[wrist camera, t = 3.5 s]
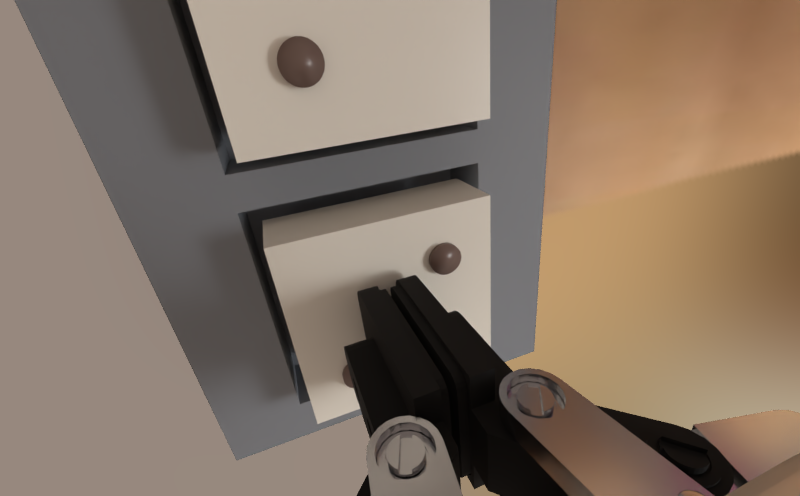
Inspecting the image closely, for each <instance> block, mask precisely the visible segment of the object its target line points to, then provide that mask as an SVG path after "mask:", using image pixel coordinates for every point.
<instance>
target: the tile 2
mask: <svg viewBox="0 0 800 496" xmlns="http://www.w3.org/2000/svg"><path fill="white" fill-rule="evenodd" d="M187 2H188V6H189V9H190V12H191V15H192V18H193V22H194V25H195V28H196V31H197V35H198V38H199V41H200V44H201V48H202V51H203V54H204V57H205V61H206V64H207V67H208V70H209V74H210V77H211V80H212V83H213V87H214V90H215V93H216V96H217V100H218V103H219V106H220V109H221V112H222V116H223V119H224V122H225V125H226V129H227V132H228V135H229V138H230V142H231V145H232V148H233V151H234V155H235V158H236V161H237V163H242V162H248V161H253V160H259V159H265V158H270V157H276V156H281V155H287V154H293V153H298V152H304V151H310V150H315V149H321V148H327V147H332V146H338V145H344V144H349V143H355V142H361V141H366V140H372V139H378V138H383V137H389V136H394V135H400V134H406V133H411V132H417V131H423V130H428V129H434V128H440V127H445V126H451V125H457V124H462V123H468V122H474V121H479V120H485V119H490V0H187Z"/></svg>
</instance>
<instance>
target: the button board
mask: <svg viewBox="0 0 800 496" xmlns="http://www.w3.org/2000/svg"><path fill="white" fill-rule="evenodd" d="M15 2H16V4H17V6H18V8H19V10H20V12H21V14H22V17H23V19H24V21H25V23H26V25H27V27H28V29H29V31H30V33H31V35H32V37H33V39H34V41H35V44H36V46H37V48H38V50H39V52H40V54H41V56H42V58H43V60H44V62H45V64H46V66H47V68H48V71H49V73H50V75H51V77H52V79H53V81H54V83H55V85H56V87H57V89H58V91H59V93H60V95H61V97H62V100H63V102H64V103H65V106H66V108H67V110H68V112H69V114H70V116H71V118H72V120H73V122H74V124H75V127H76V128H77V130H78V133H79V135H80V137H81V139H82V141H83V143H84V145H85V147H86V149H87V151H88V153H89V155H90V158H91V160H92V162H93V164H94V166H95V168H96V170H97V172H98V174H99V176H100V178H101V180H102V182H103V184H104V187H105V189H106V191H107V193H108V195H109V197H110V199H111V201H112V203H113V205H114V207H115V209H116V211H117V214H118V216H119V218H120V220H121V222H122V224H123V226H124V228H125V230H126V232H127V234H128V236H129V238H130V240H131V242H132V245H133V247H134V249H135V251H136V253H137V255H138V257H139V259H140V261H141V263H142V265H143V267H144V270H145V272H146V274H147V276H148V278H149V280H150V282H151V284H152V286H153V288H154V290H155V292H156V294H157V296H158V298H159V300H160V303H161V305H162V307H163V309H164V311H165V313H166V315H167V317H168V319H169V321H170V323H171V325H172V328H173V330H174V332H175V334H176V336H177V338H178V340H179V342H180V344H181V346H182V348H183V350H184V352H185V354H186V357H187V358H188V361H189V363H190V365H191V367H192V369H193V371H194V373H195V375H196V377H197V379H198V381H199V383H200V386H201V388H202V390H203V391H204V394H205V396H206V398H207V400H208V402H209V404H210V406H211V408H212V410H213V413H214V414H215V417H216V419H217V421H218V423H219V425H220V427H221V429H222V431H223V433H224V435H225V437H226V439H227V441H228V444H229V445H230V448H231V450H232V452H233V454H234V456H235V458H236V460H239V459H242V458H245V457H247V456H250V455H253V454H256V453H258V452H261V451H264V450H266V449H269V448H272V447H275V446H277V445H280V444H282V443H285V442H288V441H291V440H294V439H296V438H299V437H301V436H305V435H307V434H310V433H313V432H315V431H318V430H321V429H323V428H326V427H329V426H332V425H334V424H337V423H340V422H342V421H345V420H348V419H351V418H353V417H356V416H359V415H362V412H361V409H358V410H355V411H352V412H350V413H347V414H344V415H341V416H339V417H336V418H333V419H330V420H328V421H325V422H322V423H319V424H317V420H316V417H315V414H314V411H313V407H312V404H311V401H310V398H309V394H308V391H307V388H306V385H305V381H304V378H303V375H302V372H301V369H300V365H299V362H298V359H297V356H296V352H295V349H294V346H293V343H292V339H291V336H290V333H289V330H288V326H287V323H286V320H285V317H284V313H283V310H282V307H281V304H280V300H279V297H278V294H277V291H276V288H275V284H274V281H273V278H272V275H271V271H270V268H269V265H268V262H267V258H266V255H265V252H264V248H263V222H262V221H263V220H267V219H272V218H277V217H281V216H286V215H290V214H295V213H300V212H304V211H309V210H313V209H318V208H323V207H327V206H332V205H336V204H341V203H346V202H350V201H355V200H359V199H364V198H369V197H373V196H378V195H382V194H387V193H392V192H396V191H401V190H405V189H410V188H415V187H419V186H424V185H428V184H433V183H438V182H442V181H447V180H451V179H456V178H457V179H459V180H461V181H463V182H465V183H467V184H469V185H471V186H473V187H475V188H477V189H479V190H481V191H483V192H485V193H487V194H489V195H490V233H491V348H492V349H493V350H494V351H495V352H496V353H497V355H498V356H499V357H500V358H501V359H502V360H503V361H504V362H506V361H508V360H511V359H514V358H517V357H519V356H522V355H525V354H528V353H530V352H533V351H534V342H535V327H536V311H537V296H538V281H539V265H540V250H541V235H542V219H543V204H544V188H545V173H546V158H547V142H548V127H549V111H550V96H551V81H552V65H553V50H554V34H555V19H556V4H557V0H490V119H485V120H479V121H474V122H468V123H462V124H457V125H451V126H445V127H440V128H434V129H428V130H423V131H417V132H411V133H406V134H400V135H394V136H389V137H383V138H378V139H372V140H366V141H361V142H355V143H349V144H344V145H338V146H332V147H327V148H321V149H315V150H310V151H304V152H298V153H293V154H287V155H281V156H276V157H270V158H265V159H259V160H253V161H248V162H242V163H237V161H236V158H235V155H234V151H233V148H232V145H231V142H230V138H229V135H228V132H227V129H226V125H225V122H224V119H223V116H222V112H221V109H220V106H219V103H218V100H217V96H216V93H215V90H214V87H213V83H212V80H211V77H210V74H209V70H208V67H207V64H206V61H205V57H204V54H203V51H202V48H201V44H200V41H199V38H198V35H197V31H196V28H195V25H194V22H193V18H192V15H191V12H190V9H189V6H188V2H187V0H15Z"/></svg>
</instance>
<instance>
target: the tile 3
mask: <svg viewBox="0 0 800 496" xmlns="http://www.w3.org/2000/svg"><path fill="white" fill-rule="evenodd" d="M262 222H263V248H264V252H265V255H266V258H267V262H268V265H269V268H270V271H271V275H272V278H273V281H274V284H275V288H276V291H277V294H278V297H279V300H280V304H281V307H282V310H283V313H284V317H285V320H286V323H287V326H288V330H289V333H290V336H291V339H292V343H293V346H294V349H295V352H296V356H297V359H298V362H299V365H300V369H301V372H302V375H303V378H304V381H305V385H306V388H307V391H308V394H309V398H310V401H311V404H312V407H313V411H314V414H315V417H316V420H317V424H319V423H322V422H325V421H328V420H330V419H333V418H336V417H339V416H341V415H344V414H347V413H350V412H352V411H355V410H358V409H360V406H359V403H358V400H357V397H356V394H355V391H354V387H353V384H352V380H351V376H350V373H349V368H348V364H347V360H346V356H345V351H344V346H347V345H350V344H353V343H356V342H359V341H363V340H366V337H365V332H364V327H363V321H362V316H361V311H360V306H359V301H358V295H357V292H358V291H360V290H364V289H367V288H371V287H374V286H377V287H378V288H379V289H380V290H383V289H386V290H387V291H388V293H389V294H390V296H391V291H390V288H391V287H393V286H396V280H399V279H402V278H405V277H409V276H412V275H416V276H417V277H418V278H419V279H420V280H421V281H422V283H423V284H424V285H425V286H426V287H427V288H428V290H429V291H430V292H431V293H432V294H433V296H434V297H435V298H436V299H437V300H438V301H439V303H440V304H441V305H442V306H443V307H444V308H445V310H446V311H447V312H448V313H449V312H452V311H458V312H459V313H460V314H461V315H462V316H463V317H464V318H465V319H466V320H467V321H468V322H469V324H470V325H471V326H472V327H473V328H474V329H475V330H476V331H477V332H478V334H479V335H480V336H481V337H482V338H483V339H484V340H485V341H486V342H487V343H488V345H489V346H490V347H491V233H490V195H489V194H487V193H485V192H483V191H481V190H479V189H477V188H475V187H473V186H471V185H469V184H467V183H465V182H463V181H461V180H459V179H457V178H456V179H451V180H447V181H442V182H438V183H433V184H428V185H424V186H419V187H415V188H410V189H405V190H401V191H396V192H392V193H387V194H382V195H378V196H373V197H369V198H364V199H359V200H355V201H350V202H346V203H341V204H336V205H332V206H327V207H323V208H318V209H313V210H309V211H304V212H300V213H295V214H290V215H286V216H281V217H277V218H272V219H267V220H263V221H262Z"/></svg>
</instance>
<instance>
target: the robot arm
mask: <svg viewBox="0 0 800 496" xmlns="http://www.w3.org/2000/svg"><path fill="white" fill-rule="evenodd" d="M390 291H391V296H390V294H389V293H388V291H387V290H386V289H383V290H380V289H379V288H378V287H377V286H374V287H371V288H367V289H364V290H360V291H358V292H357V295H358V301H359V306H360V311H361V316H362V321H363V327H364V332H365V337H366V340H363V341H359V342H356V343H353V344H350V345H347V346H344V351H345V356H346V360H347V364H348V368H349V373H350V376H351V380H352V384H353V387H354V391H355V394H356V397H357V400H358V403H359V406H360V409H361V412H362V415H363V418H364V422H365V424H366V428H367V431H368V434H369V437H370V441H369V443H368V446H367V456H366V460H367V468H368V475H367V477H366V479H365V481H364V482H363V484H362V486H361V488H360V490H359V492H358V494H357V496H463V495H462V492H461V485H460V477H464V476H466V475H467V476H468V478H469V480H470V482H471V484H472V486H473V487H474V489H476V488H478V487H480V486H482V485H484V484H485V486H486V488H487V489H488V491H490V492H493V493H496V494H499V495H500V496H800V413H798V412H794V411H789V410H773V411H767V412H761V413H757V414H751V415H745V416H739V417H733V418H728V419H722V420H717V421H711V422H705V423H700V424H695V425H693V428H692V430H689V429H686V428H683V427H680V426H677V425H674V424H669V423H665V422H661V421H657V420H653V419H649V418H645V417H641V416H637V415H633V414H629V413H625V412H620V411H616V410H612V409H608V408H604V407H600V406H596V405H594V404H593V403H592V402H590V401H589V400H588V399H586V398H585V397H584V396H582V395H581V394H580V393H578V392H577V391H576V390H574V389H573V388H572V387H570V386H569V385H568V384H567V383H565V382H564V381H563V380H561V379H560V378H558V377H556V376H555V375H553V374H551V373H549V372H545V371H543V370H539V369H531V368H528V369H519V370H516V371H514V372H513V371H512V370H511V369H510V368H509V367H508V366H507V365H506V364H505V362H504V361H503V360H502V359H501V358H500V357H499V356H498V355H497V353H496V352H495V351H494V350H493V349H492V348H491V347H490V346H489V345H488V343H487V342H486V341H485V340H484V339H483V338H482V337H481V336H480V335H479V334H478V332H477V331H476V330H475V329H474V328H473V327H472V326H471V325H470V324H469V322H468V321H467V320H466V319H465V318H464V317H463V316H462V315H461V314H460V313H459V312H458V311H452V312H449V313H448V312H447V311H446V310H445V308H444V307H443V306H442V305H441V304H440V303H439V301H438V300H437V299H436V298H435V297H434V296H433V294H432V293H431V292H430V291H429V290H428V288H427V287H426V286H425V285H424V284H423V283H422V281H421V280H420V279H419V278H418V277H417V276H416V275H412V276H409V277H405V278H402V279H399V280H396V286H393V287H391V288H390Z"/></svg>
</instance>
